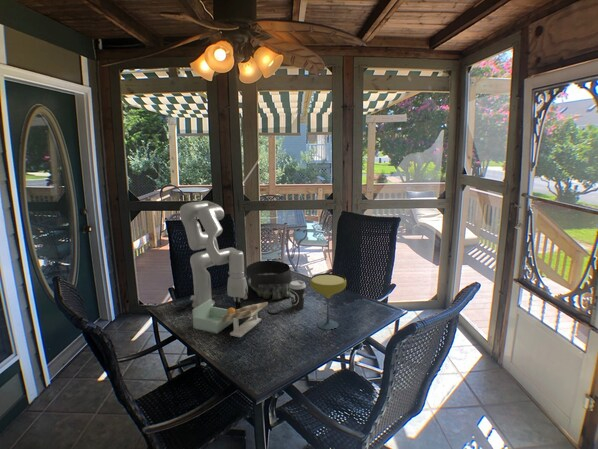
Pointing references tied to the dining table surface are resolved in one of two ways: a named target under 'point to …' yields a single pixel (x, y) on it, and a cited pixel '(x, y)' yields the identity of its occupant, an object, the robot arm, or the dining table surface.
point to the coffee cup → (297, 294)
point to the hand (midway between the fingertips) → (238, 308)
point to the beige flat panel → (244, 312)
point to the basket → (269, 279)
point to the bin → (209, 318)
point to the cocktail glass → (328, 292)
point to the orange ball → (231, 311)
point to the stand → (244, 326)
